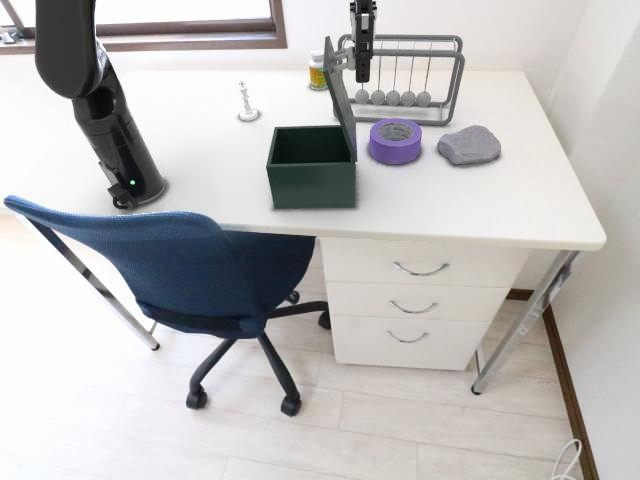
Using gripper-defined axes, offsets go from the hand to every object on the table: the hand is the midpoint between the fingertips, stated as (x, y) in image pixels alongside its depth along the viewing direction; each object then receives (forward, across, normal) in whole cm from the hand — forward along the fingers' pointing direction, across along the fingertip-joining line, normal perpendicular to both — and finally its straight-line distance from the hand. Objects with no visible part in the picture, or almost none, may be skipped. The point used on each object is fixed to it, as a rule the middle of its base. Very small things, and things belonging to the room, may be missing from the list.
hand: (361, 70), depth 62 cm
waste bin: (+25, 0, -9) cm, 27 cm away
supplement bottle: (+25, -46, -10) cm, 54 cm away
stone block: (+25, -10, +26) cm, 37 cm away
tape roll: (+25, -13, +9) cm, 30 cm away
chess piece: (+25, -30, -29) cm, 49 cm away
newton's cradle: (+25, -30, +10) cm, 40 cm away
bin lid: (+5, 0, -4) cm, 7 cm away
